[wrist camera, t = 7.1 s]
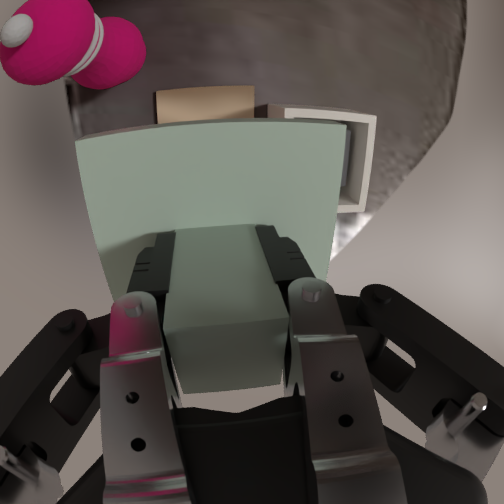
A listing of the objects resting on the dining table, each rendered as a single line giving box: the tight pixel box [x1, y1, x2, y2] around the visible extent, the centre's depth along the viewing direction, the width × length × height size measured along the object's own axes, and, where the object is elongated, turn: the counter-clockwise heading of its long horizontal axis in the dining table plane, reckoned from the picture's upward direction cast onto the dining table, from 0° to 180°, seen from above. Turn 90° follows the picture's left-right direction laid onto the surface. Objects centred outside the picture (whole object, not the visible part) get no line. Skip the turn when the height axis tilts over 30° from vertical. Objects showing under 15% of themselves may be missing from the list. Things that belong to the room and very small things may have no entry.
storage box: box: [267, 104, 377, 213], centre depth 29 cm, size 10×9×7 cm
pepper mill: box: [0, 0, 146, 89], centre depth 14 cm, size 7×7×20 cm
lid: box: [75, 118, 347, 394], centre depth 11 cm, size 11×10×7 cm
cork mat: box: [156, 86, 254, 124], centre depth 30 cm, size 13×10×1 cm
